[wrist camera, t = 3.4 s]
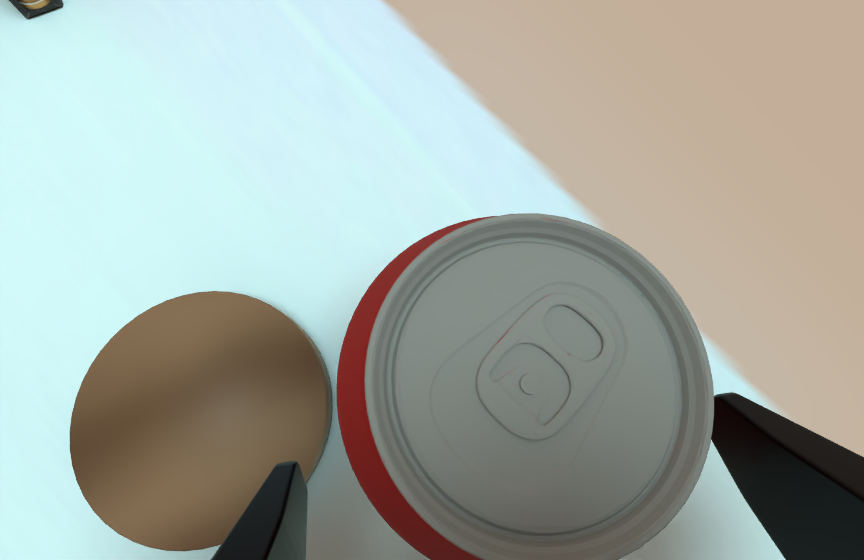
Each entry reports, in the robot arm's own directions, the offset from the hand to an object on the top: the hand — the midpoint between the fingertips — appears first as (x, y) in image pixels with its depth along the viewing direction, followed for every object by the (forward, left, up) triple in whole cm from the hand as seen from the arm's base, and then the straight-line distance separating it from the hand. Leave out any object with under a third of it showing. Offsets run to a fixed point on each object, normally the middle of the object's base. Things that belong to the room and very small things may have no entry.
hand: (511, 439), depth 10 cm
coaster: (+1, +10, -9) cm, 13 cm away
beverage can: (+1, 0, -9) cm, 9 cm away
